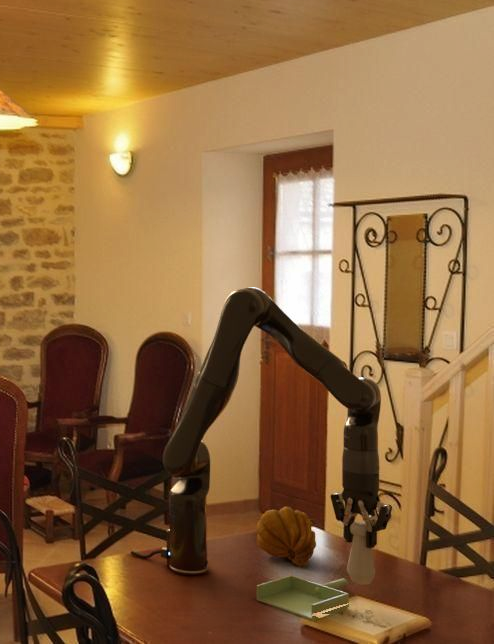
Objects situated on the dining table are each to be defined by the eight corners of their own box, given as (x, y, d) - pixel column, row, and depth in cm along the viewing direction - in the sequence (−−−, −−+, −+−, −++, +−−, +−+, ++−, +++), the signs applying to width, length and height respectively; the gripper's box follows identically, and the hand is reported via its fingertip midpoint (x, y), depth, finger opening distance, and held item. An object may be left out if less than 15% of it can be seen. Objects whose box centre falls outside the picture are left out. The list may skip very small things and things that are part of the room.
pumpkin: (255, 572, 229) (249, 529, 248) (321, 584, 226) (309, 538, 245) (264, 526, 225) (256, 485, 244) (331, 537, 222) (318, 495, 240)
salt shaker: (378, 586, 196) (378, 527, 195) (350, 585, 197) (350, 526, 197) (371, 577, 201) (370, 520, 201) (344, 576, 202) (343, 519, 202)
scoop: (313, 620, 192) (313, 605, 192) (256, 600, 205) (256, 585, 205) (375, 599, 204) (375, 584, 204) (318, 581, 217) (317, 567, 217)
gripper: (321, 464, 203) (321, 539, 203) (380, 476, 191) (380, 556, 191) (342, 460, 207) (341, 534, 207) (401, 472, 195) (400, 550, 195)
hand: (360, 544), depth 199 cm, fingers closed on salt shaker, 4 cm apart
